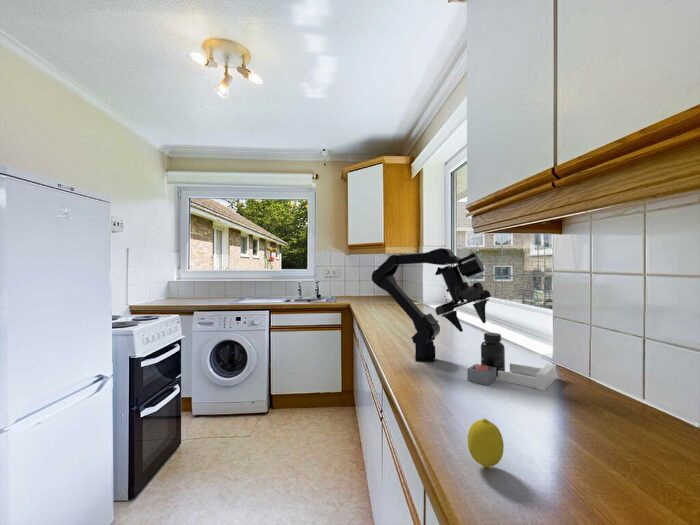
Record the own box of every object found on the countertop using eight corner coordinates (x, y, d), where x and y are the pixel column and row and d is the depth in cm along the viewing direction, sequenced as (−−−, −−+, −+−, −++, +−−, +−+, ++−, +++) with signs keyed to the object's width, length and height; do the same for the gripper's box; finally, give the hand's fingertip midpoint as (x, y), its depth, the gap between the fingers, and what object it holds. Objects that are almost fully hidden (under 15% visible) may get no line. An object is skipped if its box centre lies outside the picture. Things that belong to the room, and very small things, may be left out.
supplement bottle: (476, 371, 107) (475, 333, 107) (492, 368, 110) (491, 331, 110) (493, 377, 100) (493, 337, 101) (510, 374, 103) (509, 334, 103)
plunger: (473, 378, 98) (473, 366, 98) (478, 375, 101) (478, 363, 101) (485, 381, 96) (485, 368, 96) (490, 378, 99) (490, 366, 99)
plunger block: (467, 380, 98) (467, 368, 98) (475, 375, 103) (475, 363, 103) (488, 385, 94) (488, 372, 94) (496, 379, 99) (496, 367, 99)
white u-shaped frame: (496, 380, 98) (496, 366, 98) (511, 370, 107) (511, 357, 108) (544, 390, 90) (544, 375, 90) (556, 378, 99) (555, 364, 99)
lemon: (494, 457, 59) (493, 411, 59) (510, 477, 54) (509, 426, 54) (462, 458, 59) (462, 412, 59) (475, 478, 53) (474, 427, 53)
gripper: (442, 284, 105) (462, 333, 102) (491, 269, 111) (511, 315, 107) (427, 292, 116) (444, 337, 112) (472, 277, 121) (490, 319, 118)
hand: (473, 327), depth 112 cm, fingers open, 9 cm apart
